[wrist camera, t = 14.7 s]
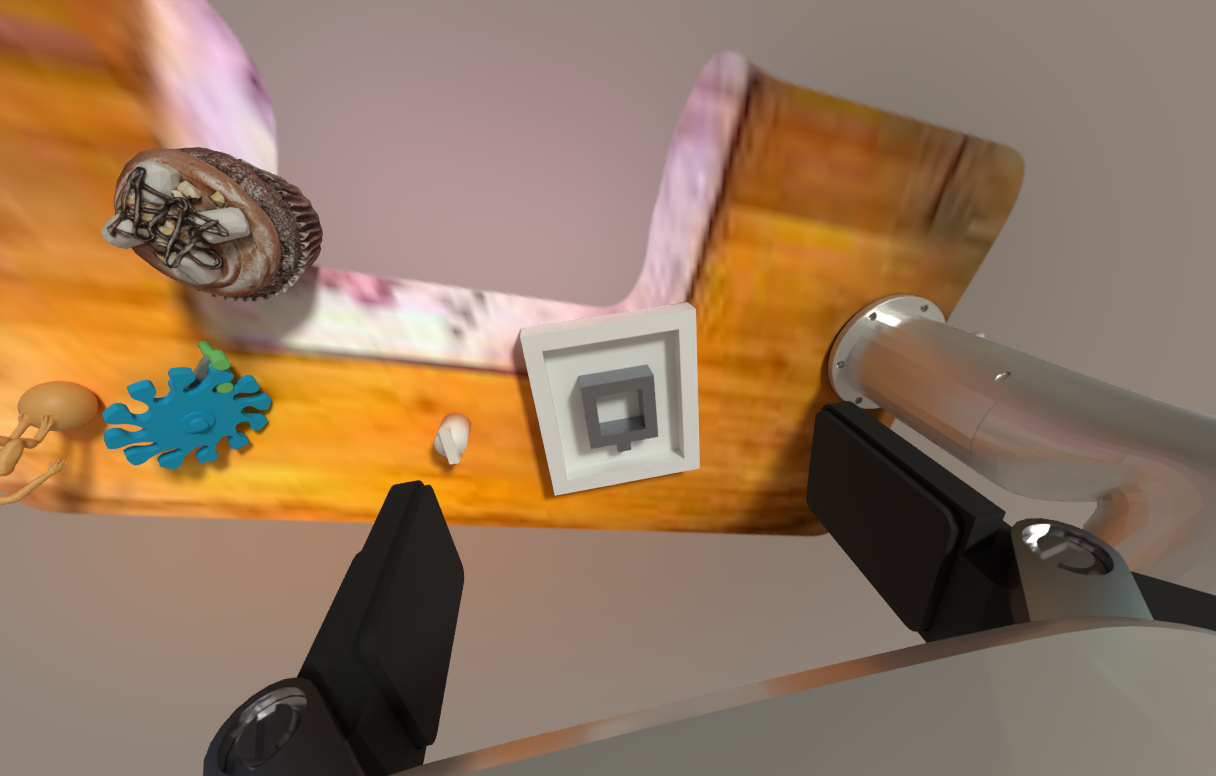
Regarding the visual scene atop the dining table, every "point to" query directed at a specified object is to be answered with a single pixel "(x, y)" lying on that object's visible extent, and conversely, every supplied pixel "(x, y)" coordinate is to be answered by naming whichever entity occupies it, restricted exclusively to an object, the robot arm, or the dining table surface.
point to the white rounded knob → (453, 437)
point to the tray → (605, 347)
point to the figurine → (45, 425)
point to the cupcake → (214, 222)
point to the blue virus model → (188, 413)
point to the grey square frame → (625, 428)
